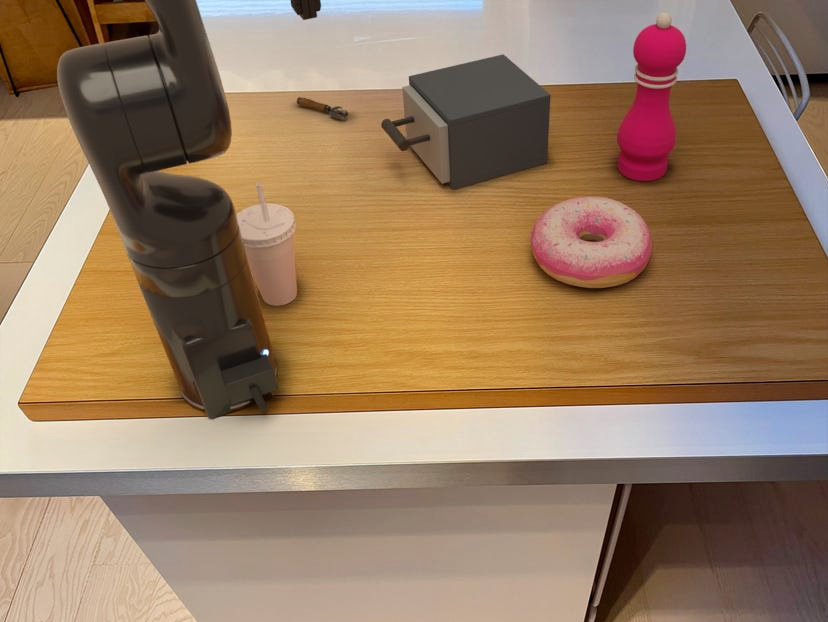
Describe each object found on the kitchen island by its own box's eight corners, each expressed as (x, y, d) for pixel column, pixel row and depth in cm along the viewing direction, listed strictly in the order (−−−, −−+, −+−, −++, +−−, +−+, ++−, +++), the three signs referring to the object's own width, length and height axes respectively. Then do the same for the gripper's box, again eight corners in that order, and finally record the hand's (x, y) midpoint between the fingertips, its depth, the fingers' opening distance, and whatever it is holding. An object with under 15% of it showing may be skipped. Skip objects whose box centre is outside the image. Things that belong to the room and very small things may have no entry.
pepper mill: (668, 155, 108) (695, 0, 94) (672, 185, 103) (700, 27, 89) (613, 152, 109) (631, -1, 94) (614, 182, 104) (633, 25, 89)
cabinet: (452, 190, 103) (449, 120, 96) (413, 143, 111) (408, 75, 104) (547, 163, 107) (550, 94, 100) (502, 120, 115) (503, 53, 108)
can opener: (296, 105, 118) (295, 98, 117) (307, 99, 120) (306, 91, 119) (344, 123, 115) (343, 115, 114) (355, 116, 116) (354, 108, 115)
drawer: (410, 192, 101) (405, 135, 95) (377, 149, 108) (370, 94, 103) (529, 159, 106) (531, 103, 100) (490, 120, 113) (489, 65, 108)
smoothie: (297, 317, 86) (272, 206, 76) (240, 309, 87) (208, 198, 77) (317, 279, 91) (296, 169, 81) (263, 272, 92) (235, 162, 82)
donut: (551, 308, 87) (554, 271, 83) (514, 235, 96) (515, 199, 92) (668, 285, 89) (676, 248, 86) (621, 216, 98) (626, 180, 95)
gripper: (215, -155, 70) (256, 42, 83) (360, -174, 75) (379, 17, 87) (196, -174, 75) (237, 15, 88) (333, -191, 79) (354, -8, 92)
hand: (308, 16), depth 87 cm, fingers closed
